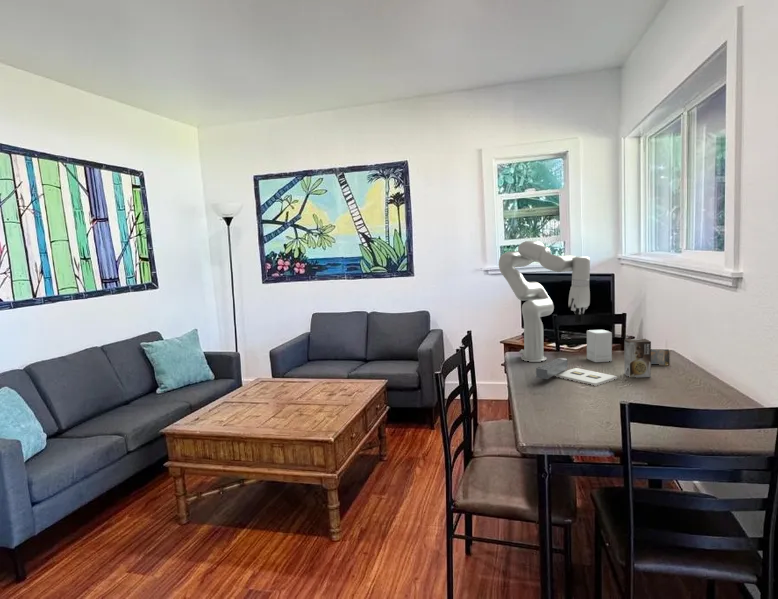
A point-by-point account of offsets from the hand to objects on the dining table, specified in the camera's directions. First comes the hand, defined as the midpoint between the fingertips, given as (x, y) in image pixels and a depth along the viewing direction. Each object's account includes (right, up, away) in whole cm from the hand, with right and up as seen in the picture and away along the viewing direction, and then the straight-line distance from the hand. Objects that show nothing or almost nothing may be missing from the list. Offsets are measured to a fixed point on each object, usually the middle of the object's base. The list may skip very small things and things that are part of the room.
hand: (579, 322), depth 221 cm
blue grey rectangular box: (+40, -21, +6) cm, 45 cm away
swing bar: (-15, -22, -8) cm, 28 cm away
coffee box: (+22, -24, -11) cm, 34 cm away
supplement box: (+18, -20, +19) cm, 33 cm away
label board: (-2, -24, -9) cm, 26 cm away
